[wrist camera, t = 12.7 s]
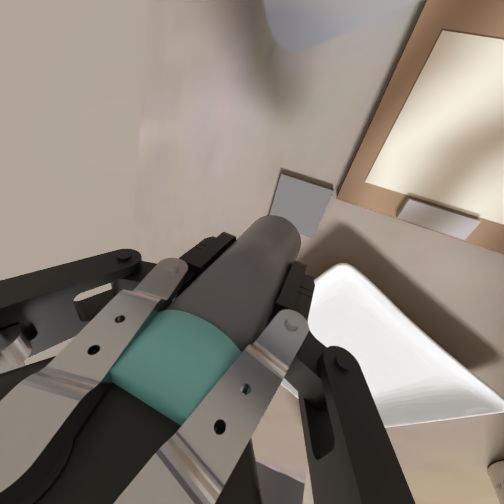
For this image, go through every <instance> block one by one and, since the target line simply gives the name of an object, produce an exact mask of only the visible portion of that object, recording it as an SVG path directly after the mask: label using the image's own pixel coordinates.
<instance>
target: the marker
mask: <svg viewBox="0 0 504 504" xmlns="http://www.w3.org/2000/svg"><path fill="white" fill-rule="evenodd" d="M300 247H301V238H300V234H299V232H298V230H297V228H296V227H295V226H294V225H293V224H292V223H291V222H290V221H289V220H287V219H285V218H283V217H280V216H276V215H267V216H263V217H261V218H259V219H258V220H256V221H255V222H254V223H253V224H252V225H251V226H250V227H249V228H248V229H247V230H246V231H245V232H244V233H243V234H242V235H241V236H240V237H239V238H238V239H237V240H236V241H235V242H234V243H233V244H232V245H231V246H230V247H229V248H228V249H227V250H226V251H224V252H223V253H222V254H221V255H220V256H219V257H218V258H217V259H216V260H215V261H214V262H213V263H212V264H211V265H210V266H209V267H208V268H207V269H206V270H205V271H204V272H203V273H202V274H201V275H200V276H199V277H198V278H197V279H196V280H195V281H194V282H193V283H192V284H191V285H190V286H188V287H187V288H186V289H185V290H184V291H183V292H182V293H181V294H180V295H179V296H178V297H177V298H176V299H175V300H174V301H173V302H172V303H171V304H170V305H169V306H168V307H167V308H166V309H165V310H164V311H161V312H158V313H157V315H156V316H155V317H154V318H153V319H152V320H151V321H150V323H149V324H148V325H147V326H146V327H145V328H144V329H143V331H142V332H141V333H140V334H139V336H138V337H137V338H136V339H135V340H134V342H133V343H132V344H131V345H130V346H129V348H128V349H127V350H126V351H125V352H124V354H123V355H122V356H121V357H120V359H119V360H118V361H117V362H116V364H115V365H114V366H113V367H112V369H111V370H110V374H111V377H112V380H113V381H112V382H113V383H115V384H116V385H118V386H119V387H121V388H122V389H124V390H126V391H127V392H129V393H130V394H132V395H133V396H135V397H137V398H138V399H140V400H141V401H143V402H144V403H146V404H148V405H149V406H151V407H152V408H154V409H155V410H157V411H159V412H160V413H162V414H163V415H165V416H166V417H168V418H170V419H171V420H173V421H174V422H176V423H177V424H179V425H181V426H182V425H183V424H184V422H185V421H186V420H187V419H188V418H189V416H190V415H191V414H192V413H193V411H194V410H195V409H196V408H197V407H198V405H199V404H200V403H201V402H202V400H203V399H204V398H205V397H206V396H207V394H208V393H209V392H210V391H211V390H212V388H213V387H214V386H215V385H216V383H217V382H218V381H219V380H220V379H221V377H222V376H223V375H224V374H225V373H226V371H227V370H228V369H229V368H230V366H231V365H232V364H233V363H234V362H235V360H236V359H237V358H238V357H239V356H240V354H241V353H242V352H243V351H244V349H245V348H246V347H247V346H248V345H249V344H253V343H254V342H255V341H256V340H257V339H258V337H259V336H260V335H261V334H262V332H263V331H264V330H265V329H266V327H267V326H268V325H269V324H270V322H271V319H272V315H273V310H274V307H275V305H276V302H277V300H278V298H279V295H280V293H281V290H282V288H283V286H284V283H285V281H286V278H287V276H288V274H289V271H290V269H291V266H292V264H293V262H294V260H296V258H297V255H298V253H299V250H300ZM242 394H244V393H242ZM216 430H217V428H215V429H214V431H215V432H216Z"/></svg>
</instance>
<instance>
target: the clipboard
mask: <svg viewBox="0 0 504 504" xmlns="http://www.w3.org/2000/svg"><path fill="white" fill-rule="evenodd" d="M336 199H339V200H342V201H345V202H348V203H351V204H354V205H357V206H360V207H363V208H366V209H369V210H372V211H375V212H378V213H381V214H384V215H387V216H390V217H393V218H396V219H399V220H402V221H405V222H408V223H411V224H414V225H417V226H420V227H423V228H426V229H429V230H432V231H435V232H438V233H441V234H444V235H447V236H450V237H453V238H456V239H459V240H462V241H465V242H468V243H471V244H474V245H478V246H481V247H484V248H487V249H490V250H493V251H496V252H499V253H502V254H504V0H427V1H426V3H425V5H424V7H423V9H422V12H421V14H420V16H419V18H418V20H417V22H416V25H415V27H414V29H413V31H412V33H411V36H410V38H409V40H408V42H407V44H406V47H405V49H404V51H403V53H402V55H401V57H400V60H399V62H398V64H397V66H396V68H395V71H394V73H393V75H392V77H391V79H390V82H389V84H388V86H387V88H386V90H385V92H384V95H383V97H382V99H381V101H380V103H379V106H378V108H377V110H376V112H375V114H374V117H373V119H372V121H371V123H370V125H369V127H368V130H367V132H366V134H365V136H364V138H363V141H362V143H361V145H360V147H359V149H358V151H357V154H356V156H355V158H354V160H353V162H352V165H351V167H350V169H349V171H348V173H347V176H346V178H345V180H344V182H343V184H342V186H341V189H340V191H339V193H338V195H337V198H336Z"/></svg>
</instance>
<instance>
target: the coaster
mask: <svg viewBox="0 0 504 504" xmlns="http://www.w3.org/2000/svg"><path fill="white" fill-rule="evenodd" d="M333 191H334V190H332V189H329V188H326V187H323V186H320V185H317V184H314V183H310V182H307V181H304V180H301V179H298V178H295V177H292V176H289V175H286V174H283V173H282V174H281V176H280V179H279V183H278V186H277V190H276V193H275V197H274V200H273V204H272V207H271V211H270V214H269V215H276V216H280V217H283V218H285V219H287V220H289V221H290V222H291V223H292V224H293V225H294V226H295V227H296V228H297V230H298V232H299V233H300V234H303V235H305V236H308V237H310V238H313V236H314V234H315V232H316V229H317V227H318V225H319V222H320V220H321V218H322V216H323V213H324V211H325V209H326V207H327V204H328V202H329V200H330V198H331V195H332V193H333Z"/></svg>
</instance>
